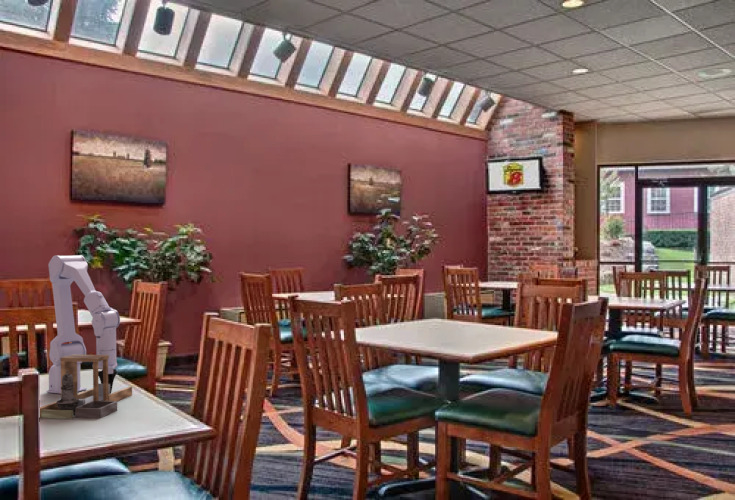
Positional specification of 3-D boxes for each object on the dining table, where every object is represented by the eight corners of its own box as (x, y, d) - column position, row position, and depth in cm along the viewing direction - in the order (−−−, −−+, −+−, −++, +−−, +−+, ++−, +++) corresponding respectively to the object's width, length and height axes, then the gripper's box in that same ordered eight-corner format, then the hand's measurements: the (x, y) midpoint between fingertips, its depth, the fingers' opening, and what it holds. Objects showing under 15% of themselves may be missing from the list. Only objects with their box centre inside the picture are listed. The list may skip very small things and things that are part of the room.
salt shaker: (83, 411, 186) (82, 368, 186) (73, 416, 181) (72, 372, 181) (62, 411, 187) (62, 368, 187) (52, 416, 181) (51, 372, 181)
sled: (93, 398, 201) (93, 383, 201) (111, 399, 200) (111, 383, 200) (63, 410, 187) (63, 393, 187) (83, 410, 186) (82, 394, 186)
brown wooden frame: (98, 393, 209) (98, 347, 209) (151, 395, 206) (150, 348, 206) (35, 417, 179) (34, 364, 179) (95, 420, 176) (94, 365, 176)
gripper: (89, 347, 207) (90, 391, 207) (94, 354, 195) (95, 399, 195) (113, 346, 211) (114, 388, 211) (120, 351, 198) (121, 397, 198)
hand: (107, 393), depth 203 cm, fingers closed
